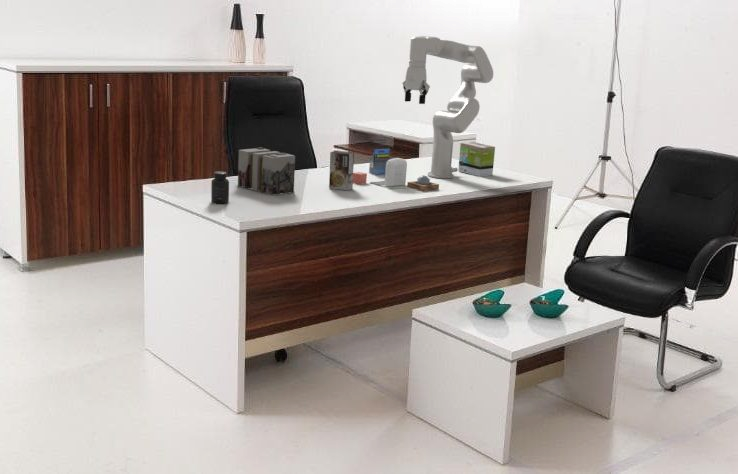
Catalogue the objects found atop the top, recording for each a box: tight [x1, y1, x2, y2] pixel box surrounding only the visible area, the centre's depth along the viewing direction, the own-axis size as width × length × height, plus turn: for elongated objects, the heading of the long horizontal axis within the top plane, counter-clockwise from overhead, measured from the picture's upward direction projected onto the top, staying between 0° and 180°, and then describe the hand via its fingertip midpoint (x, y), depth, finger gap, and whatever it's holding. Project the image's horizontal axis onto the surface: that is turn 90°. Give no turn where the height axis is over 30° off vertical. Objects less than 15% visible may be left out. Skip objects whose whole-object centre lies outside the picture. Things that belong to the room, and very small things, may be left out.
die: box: [353, 171, 367, 185], centre depth 411 cm, size 4×4×5 cm
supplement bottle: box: [210, 170, 230, 205], centre depth 354 cm, size 7×7×12 cm
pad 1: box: [369, 180, 385, 187], centre depth 413 cm, size 12×6×1 cm, turn 129°
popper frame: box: [406, 180, 440, 192], centre depth 407 cm, size 10×10×2 cm
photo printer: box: [384, 157, 408, 186], centre depth 407 cm, size 10×4×12 cm, turn 125°
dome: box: [416, 175, 431, 185], centre depth 406 cm, size 6×6×5 cm
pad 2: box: [379, 184, 408, 190], centre depth 408 cm, size 12×6×1 cm, turn 129°
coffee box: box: [328, 150, 355, 192], centre depth 395 cm, size 9×6×16 cm
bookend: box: [237, 146, 296, 196], centre depth 384 cm, size 16×25×16 cm, turn 46°
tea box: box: [457, 141, 496, 178], centre depth 451 cm, size 15×10×15 cm, turn 41°
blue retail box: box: [368, 148, 391, 176], centre depth 436 cm, size 9×4×12 cm, turn 121°
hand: (414, 102), depth 415 cm, fingers open, 9 cm apart
